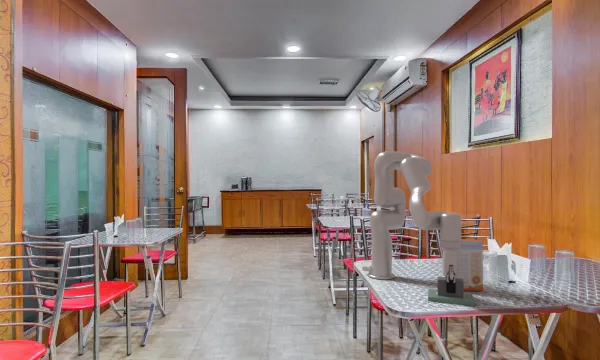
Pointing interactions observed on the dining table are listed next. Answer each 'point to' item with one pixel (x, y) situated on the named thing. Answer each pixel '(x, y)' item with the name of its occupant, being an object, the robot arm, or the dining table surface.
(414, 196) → the robot arm
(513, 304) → the dining table surface
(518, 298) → the dining table surface
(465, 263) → the cracker box
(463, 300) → the header board
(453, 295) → the block
